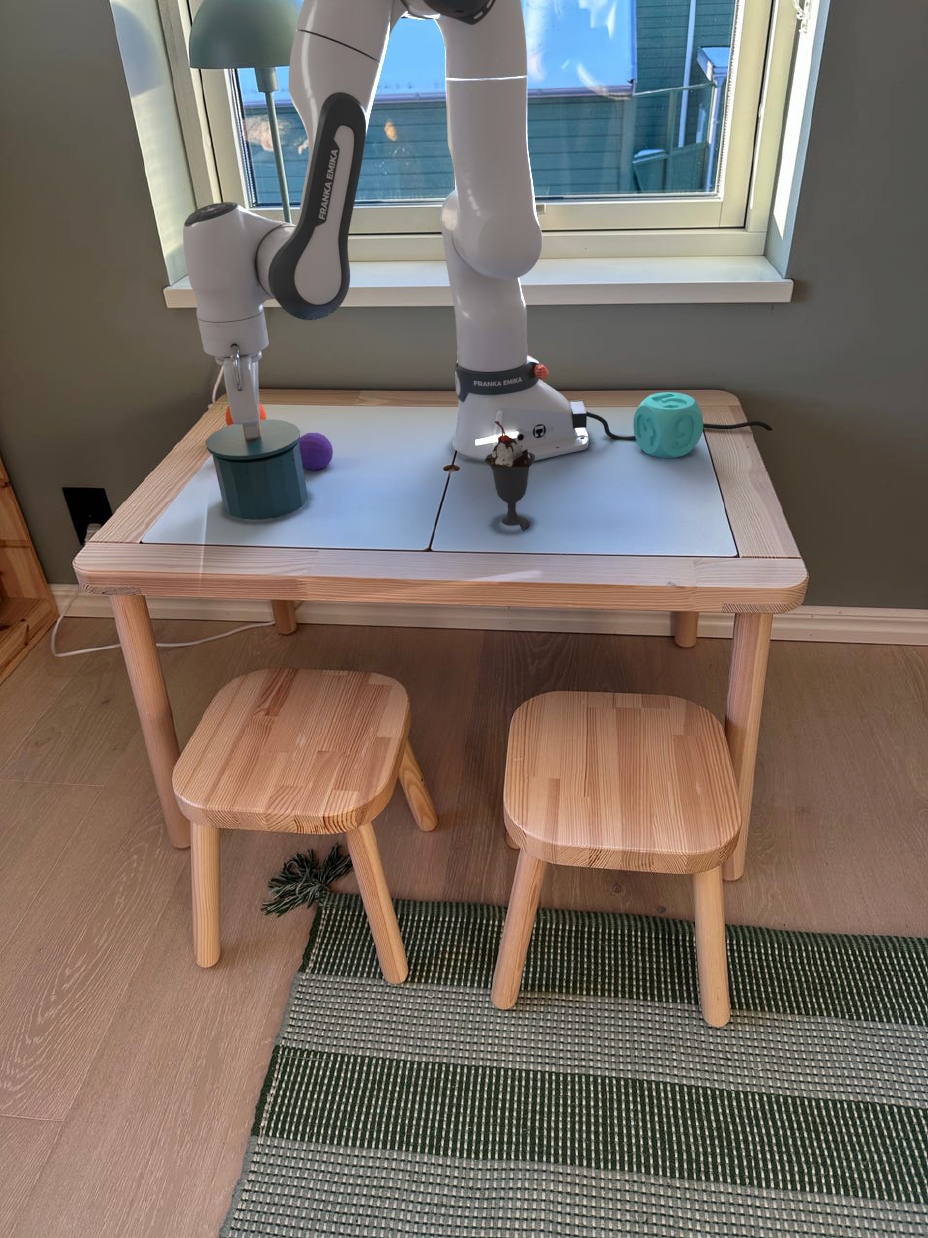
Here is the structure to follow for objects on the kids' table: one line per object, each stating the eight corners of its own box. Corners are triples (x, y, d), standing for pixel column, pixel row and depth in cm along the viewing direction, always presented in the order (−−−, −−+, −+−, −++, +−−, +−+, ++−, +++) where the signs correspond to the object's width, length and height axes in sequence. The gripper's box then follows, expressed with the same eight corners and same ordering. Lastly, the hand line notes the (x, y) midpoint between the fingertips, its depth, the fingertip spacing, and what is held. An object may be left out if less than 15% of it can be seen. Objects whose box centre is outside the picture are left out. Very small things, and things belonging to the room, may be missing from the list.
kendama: (229, 429, 154) (336, 429, 147) (235, 464, 156) (340, 465, 149) (209, 436, 148) (319, 436, 142) (215, 472, 151) (324, 474, 144)
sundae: (488, 514, 132) (484, 414, 124) (534, 512, 132) (533, 413, 123) (487, 536, 127) (483, 434, 118) (536, 534, 126) (535, 432, 118)
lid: (298, 422, 140) (293, 389, 137) (303, 457, 129) (297, 421, 126) (209, 432, 138) (202, 399, 135) (205, 468, 127) (198, 433, 124)
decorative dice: (672, 434, 152) (676, 388, 148) (701, 451, 146) (706, 403, 142) (631, 444, 150) (633, 397, 145) (658, 462, 144) (662, 413, 139)
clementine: (217, 444, 159) (209, 404, 155) (232, 428, 165) (224, 390, 161) (261, 444, 158) (254, 405, 154) (274, 429, 163) (268, 390, 159)
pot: (305, 481, 145) (296, 424, 139) (310, 516, 134) (300, 456, 129) (225, 491, 143) (213, 434, 138) (224, 528, 133) (210, 467, 127)
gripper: (258, 355, 116) (276, 456, 124) (257, 312, 133) (273, 403, 141) (208, 360, 115) (229, 462, 123) (213, 317, 132) (231, 408, 140)
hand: (252, 430), depth 132 cm, fingers closed on lid, 2 cm apart
